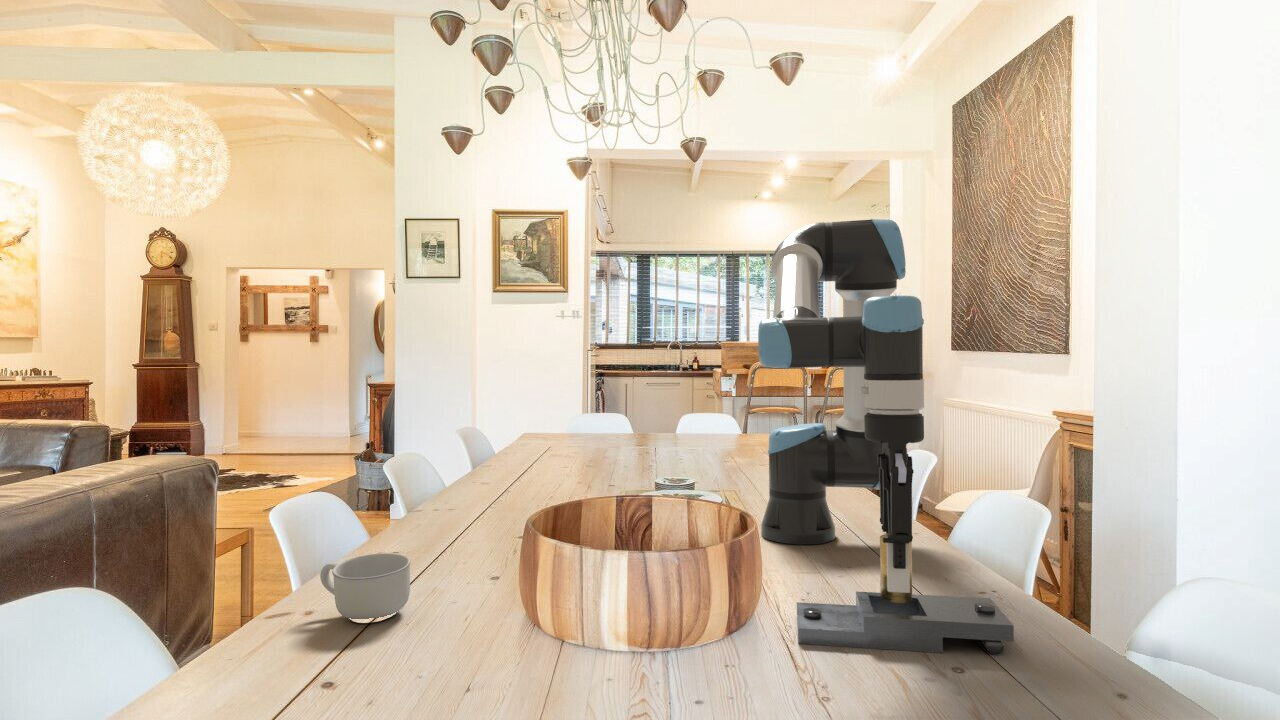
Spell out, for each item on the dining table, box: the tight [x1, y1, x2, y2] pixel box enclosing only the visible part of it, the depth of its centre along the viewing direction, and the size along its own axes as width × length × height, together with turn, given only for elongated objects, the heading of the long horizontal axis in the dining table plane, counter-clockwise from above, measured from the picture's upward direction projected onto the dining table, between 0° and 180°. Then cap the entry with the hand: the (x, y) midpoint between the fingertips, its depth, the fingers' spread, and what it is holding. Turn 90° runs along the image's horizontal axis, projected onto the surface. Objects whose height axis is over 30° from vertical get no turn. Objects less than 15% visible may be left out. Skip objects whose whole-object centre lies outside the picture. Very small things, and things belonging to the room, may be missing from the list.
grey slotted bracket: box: [796, 591, 1015, 656], centre depth 94 cm, size 10×26×5 cm, turn 78°
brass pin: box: [879, 534, 913, 603], centre depth 94 cm, size 4×4×8 cm
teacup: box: [319, 552, 411, 619], centre depth 105 cm, size 14×11×8 cm
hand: (896, 586), depth 94 cm, fingers closed on brass pin, 3 cm apart
